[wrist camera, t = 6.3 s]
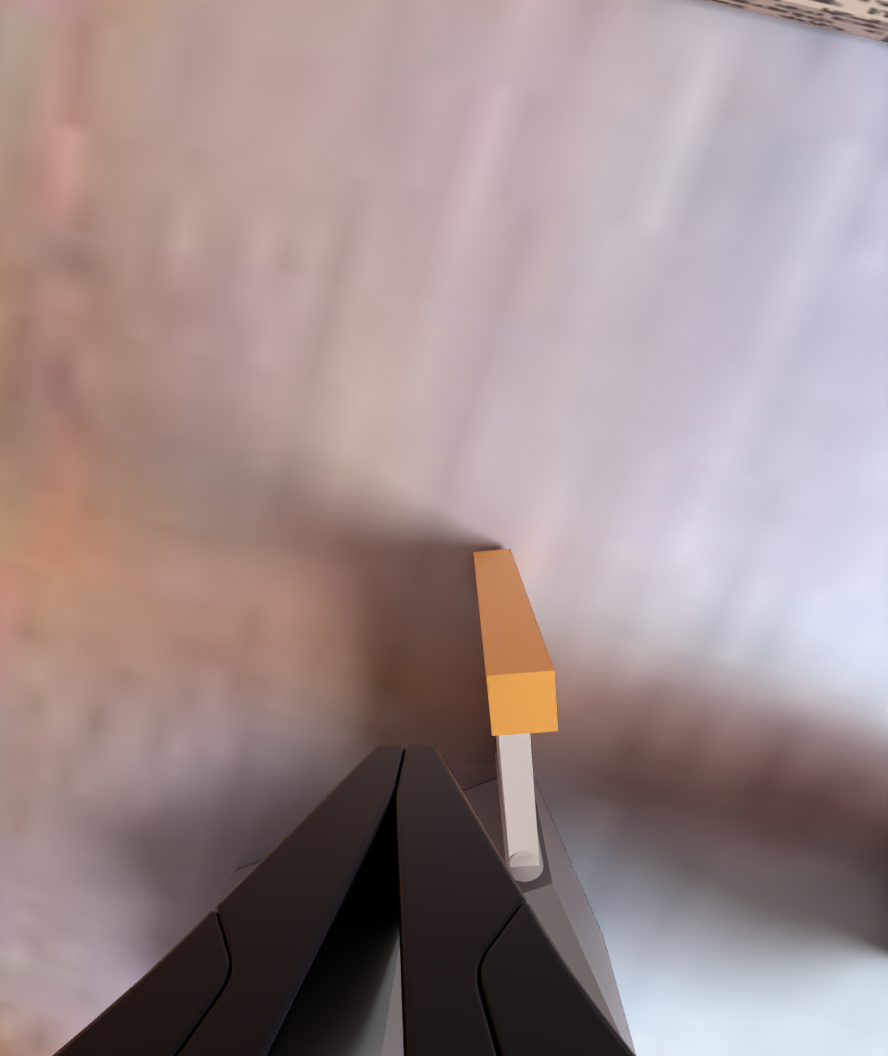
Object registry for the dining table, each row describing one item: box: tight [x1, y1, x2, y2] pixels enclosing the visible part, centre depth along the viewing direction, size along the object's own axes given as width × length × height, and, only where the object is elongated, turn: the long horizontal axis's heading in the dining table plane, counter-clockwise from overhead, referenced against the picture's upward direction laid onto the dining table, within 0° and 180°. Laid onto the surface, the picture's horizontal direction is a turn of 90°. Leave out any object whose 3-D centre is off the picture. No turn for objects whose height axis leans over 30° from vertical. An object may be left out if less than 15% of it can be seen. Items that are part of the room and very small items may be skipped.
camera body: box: [220, 776, 636, 1056], centre depth 19 cm, size 14×8×6 cm, turn 113°
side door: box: [474, 549, 558, 882], centre depth 15 cm, size 8×1×8 cm, turn 6°
